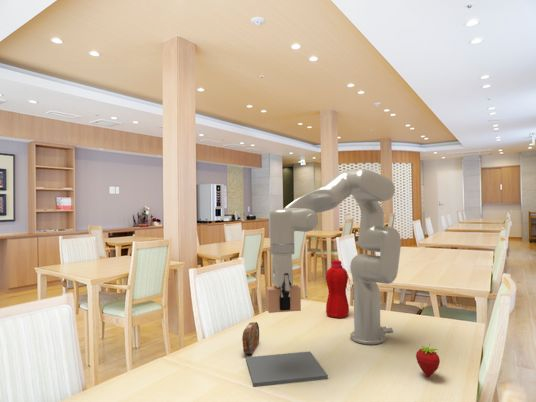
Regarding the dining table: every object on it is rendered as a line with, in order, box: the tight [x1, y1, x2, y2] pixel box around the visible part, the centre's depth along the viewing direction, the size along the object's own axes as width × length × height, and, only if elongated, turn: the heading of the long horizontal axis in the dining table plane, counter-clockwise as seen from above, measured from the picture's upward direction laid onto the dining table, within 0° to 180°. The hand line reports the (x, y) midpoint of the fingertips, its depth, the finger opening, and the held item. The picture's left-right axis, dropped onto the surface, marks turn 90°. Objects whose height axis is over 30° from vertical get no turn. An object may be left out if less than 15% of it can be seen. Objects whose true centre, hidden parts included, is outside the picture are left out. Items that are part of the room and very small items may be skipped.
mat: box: [245, 350, 329, 387], centre depth 117 cm, size 22×18×1 cm
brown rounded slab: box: [241, 321, 260, 355], centre depth 133 cm, size 15×3×8 cm, turn 168°
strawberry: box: [415, 343, 441, 378], centre depth 110 cm, size 6×8×10 cm
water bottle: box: [325, 259, 352, 319], centre depth 169 cm, size 9×11×25 cm
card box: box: [265, 284, 302, 314], centre depth 117 cm, size 4×10×7 cm, turn 100°
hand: (283, 307), depth 117 cm, fingers closed on card box, 4 cm apart
